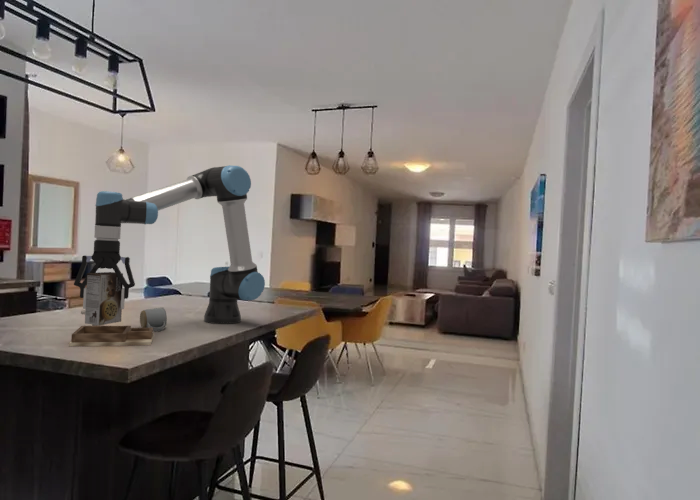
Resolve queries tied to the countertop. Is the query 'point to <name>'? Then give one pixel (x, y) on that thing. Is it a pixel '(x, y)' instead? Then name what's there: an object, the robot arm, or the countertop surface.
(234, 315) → the robot arm
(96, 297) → the coffee box
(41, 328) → the countertop surface
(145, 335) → the board
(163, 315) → the ceramic mug
